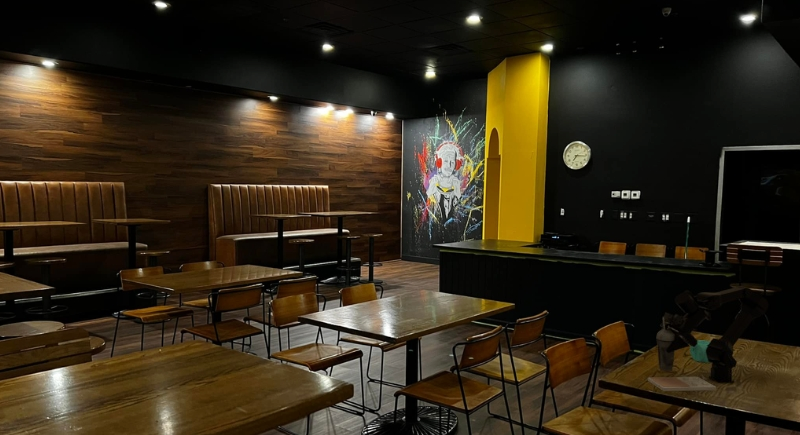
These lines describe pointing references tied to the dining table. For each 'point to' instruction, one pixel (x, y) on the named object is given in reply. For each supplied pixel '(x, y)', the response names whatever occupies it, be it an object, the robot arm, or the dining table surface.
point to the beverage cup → (665, 348)
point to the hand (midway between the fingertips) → (662, 349)
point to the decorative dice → (700, 351)
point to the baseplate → (681, 383)
